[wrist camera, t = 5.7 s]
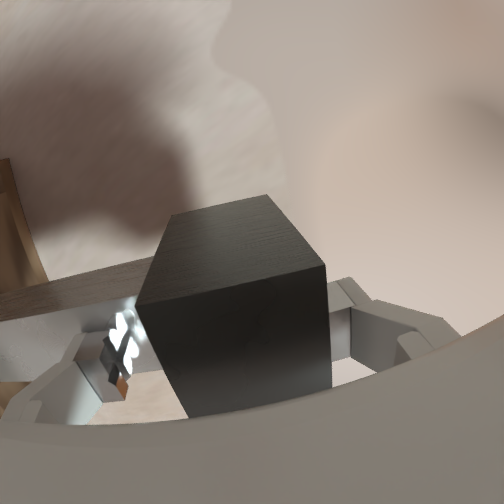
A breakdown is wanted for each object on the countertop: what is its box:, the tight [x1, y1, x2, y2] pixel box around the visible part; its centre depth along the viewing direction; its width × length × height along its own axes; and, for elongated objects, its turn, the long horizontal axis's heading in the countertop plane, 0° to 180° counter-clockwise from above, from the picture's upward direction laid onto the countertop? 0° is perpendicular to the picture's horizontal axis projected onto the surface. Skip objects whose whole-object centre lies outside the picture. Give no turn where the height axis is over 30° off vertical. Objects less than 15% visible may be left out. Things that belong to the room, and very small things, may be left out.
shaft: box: [0, 194, 332, 418], centre depth 10 cm, size 5×20×7 cm, turn 101°
